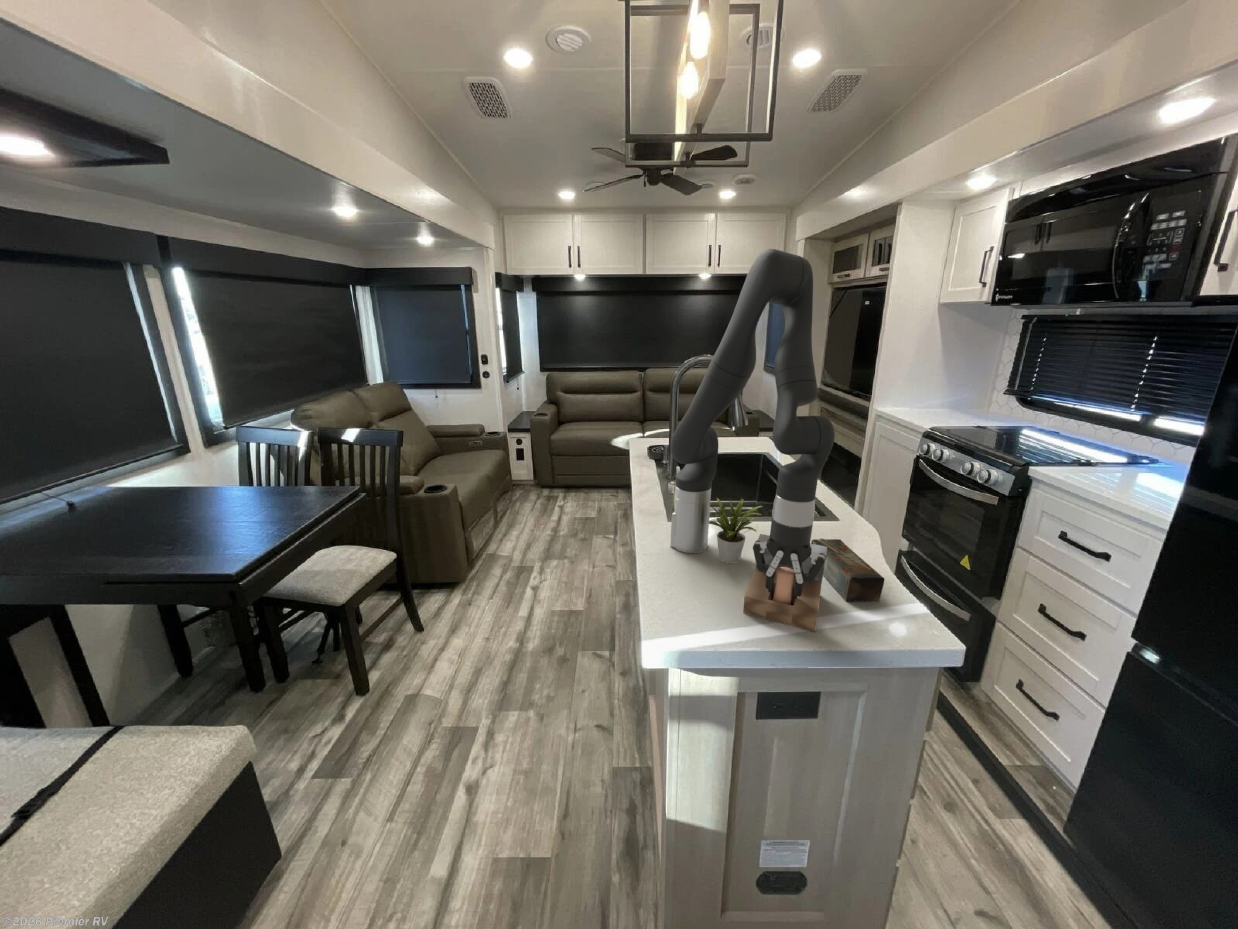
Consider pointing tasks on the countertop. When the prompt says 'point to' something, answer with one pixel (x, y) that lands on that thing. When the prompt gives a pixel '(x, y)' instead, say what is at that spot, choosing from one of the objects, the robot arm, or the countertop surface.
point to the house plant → (732, 531)
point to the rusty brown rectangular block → (850, 572)
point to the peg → (784, 585)
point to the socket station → (804, 606)
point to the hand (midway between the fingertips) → (782, 592)
